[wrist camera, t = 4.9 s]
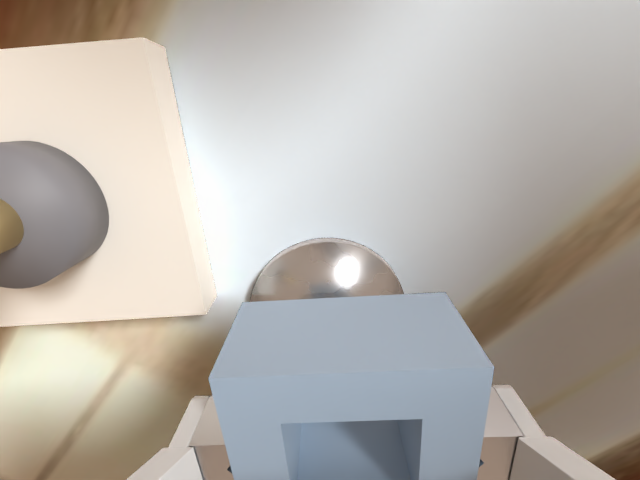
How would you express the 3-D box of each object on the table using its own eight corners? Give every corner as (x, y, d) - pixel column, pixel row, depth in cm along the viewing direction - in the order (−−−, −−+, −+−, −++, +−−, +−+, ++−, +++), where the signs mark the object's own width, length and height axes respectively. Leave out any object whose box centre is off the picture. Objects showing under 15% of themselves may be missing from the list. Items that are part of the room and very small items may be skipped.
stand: (404, 232, 14) (437, 278, 10) (401, 364, 16) (427, 442, 12) (241, 243, 14) (209, 292, 10) (262, 371, 16) (244, 451, 13)
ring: (445, 292, 9) (494, 367, 7) (434, 438, 12) (467, 540, 9) (242, 302, 10) (207, 378, 7) (268, 442, 12) (250, 543, 9)
